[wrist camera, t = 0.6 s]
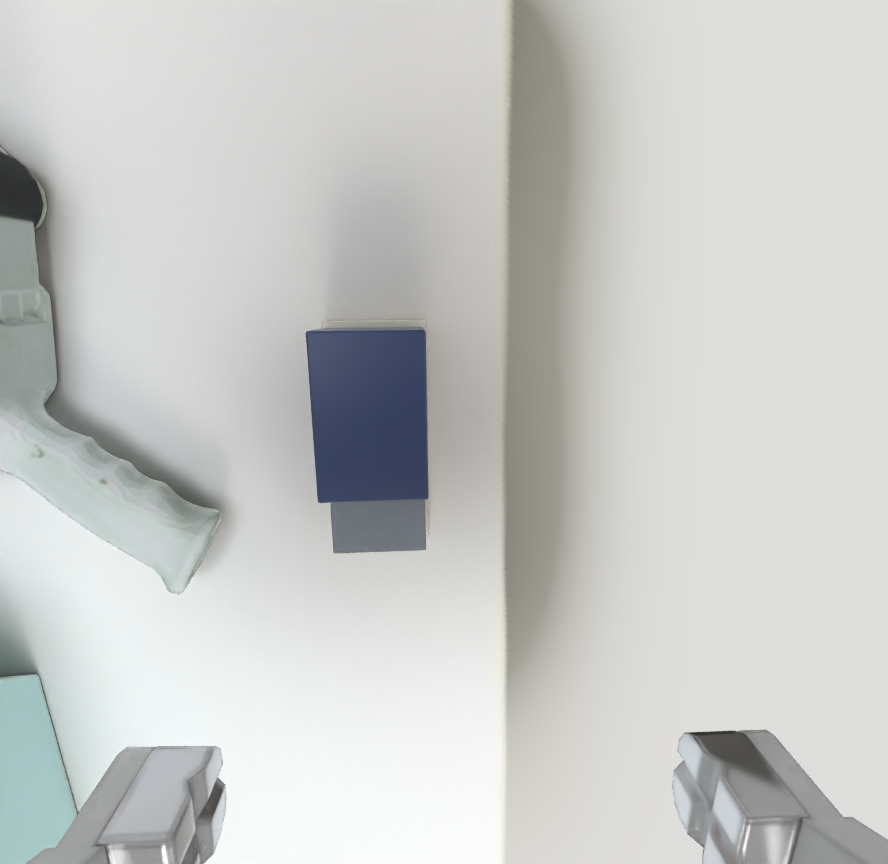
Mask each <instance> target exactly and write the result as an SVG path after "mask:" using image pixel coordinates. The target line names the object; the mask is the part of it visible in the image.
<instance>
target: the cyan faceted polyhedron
mask: <svg viewBox="0 0 888 864" xmlns="http://www.w3.org/2000/svg"><path fill="white" fill-rule="evenodd" d="M76 816H77V812H76V809H75V805H74V801H73V798H72V794H71V791H70V787H69V783H68V780H67V776H66V772H65V769H64V765H63V762H62V758H61V754H60V751H59V747H58V744H57V740H56V736H55V733H54V729H53V726H52V722H51V719H50V715H49V711H48V708H47V704H46V701H45V697H44V693H43V690H42V686H41V683H40V679H39V676H38V675H36V674H31V675H18V676H6V677H0V864H25V863H27V862H28V861H29V860H31V859H32V858H33V857H35V856H36V855H37V854H38V853H40V852H41V851H42V850H44V849H45V848H56V846H57V845H58V843H59V842H60V840H61V839H62V837H63V836H64V834H65V833H66V831H67V830H68V828H69V827H70V825H71V824H72V822H73V821H74V819H75V818H76Z"/></svg>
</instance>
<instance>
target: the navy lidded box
mask: <svg viewBox="0 0 888 864" xmlns="http://www.w3.org/2000/svg"><path fill="white" fill-rule="evenodd" d="M306 342H307V356H308V370H309V384H310V398H311V412H312V426H313V440H314V454H315V468H316V482H317V496H318V502H319V503H329V502H330V505H331V521H332V536H333V551H334V553H356V552H384V551H412V550H426V536H429V485H428V426H427V368H426V321H425V320H328V321H322V329H317V330H311V331H307V332H306Z"/></svg>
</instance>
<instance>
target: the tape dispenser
mask: <svg viewBox="0 0 888 864" xmlns="http://www.w3.org/2000/svg"><path fill="white" fill-rule="evenodd" d="M46 211H47V203H46V197H45V192H44V190H43V188H42V186H41V185H40V183H39V182H38V181H37V179H36V178H35V177H34V176H33V175H32V174H31V173H30V172H29V171H28V170H27V169H26V168H25V166H23V165H22V164H21V163H20V162H18V161H17V160H16V159H14V158H13V157H11V156H10V155H9V154H8V153H7V152H5V151H4V150H3V149H2V148H1V147H0V470H1V471H6V472H8V473H10V474H12V475H14V476H16V477H18V478H19V479H21V480H22V481H23V482H25V483H26V484H27V485H28V486H30V487H31V488H32V489H34V490H35V491H36V492H37V493H39V494H40V495H41V496H42V497H44V498H45V499H46V500H47V501H49V502H50V503H51V504H52V505H54V506H55V507H56V508H58V509H59V510H61V511H62V512H63V513H65V514H66V515H68V516H69V517H71V518H72V519H73V520H75V521H76V522H78V523H79V524H81V525H82V526H83V527H85V528H86V529H88V530H89V531H91V532H92V533H94V534H95V535H97V536H99V537H100V538H102V539H104V540H105V541H107V542H108V543H110V544H112V545H113V546H115V547H117V548H118V549H120V550H122V551H123V552H125V553H127V554H129V555H130V556H132V557H134V558H135V559H137V560H139V561H141V562H142V563H144V564H146V565H147V566H149V567H151V568H153V569H154V570H155V571H156V572H157V573H158V574H159V575H160V576H161V578H162V580H163V582H164V583H165V585H166V588H167V590H168V591H169V592H171V593H174V594H180V593H182V592H183V591H184V589H185V588H186V587H187V585H188V583H189V582H190V580H191V578H192V577H193V575H194V573H195V572H196V570H197V569H198V567H199V565H200V564H201V562H202V560H203V558H204V556H205V554H206V552H207V550H208V548H209V546H210V544H211V542H212V540H213V538H214V536H215V534H216V532H217V529H218V527H219V525H220V523H221V520H222V514H221V512H220V511H219V510H217V509H212V508H206V507H202V506H198V505H195V504H193V503H190V502H188V501H186V500H184V499H183V498H181V497H180V496H179V495H178V494H176V493H175V492H174V491H173V490H172V489H171V488H170V487H169V486H168V485H167V484H166V483H165V482H161V481H157V480H153V479H151V478H149V477H147V476H145V475H143V474H142V473H141V472H139V471H138V470H137V469H136V468H135V467H134V465H133V464H132V463H131V462H129V461H127V460H124V459H121V458H117V457H115V456H113V455H112V454H110V453H108V452H107V451H105V450H104V449H102V448H101V447H100V446H99V445H98V443H97V442H96V441H95V440H94V439H93V438H92V437H89V436H86V435H83V434H80V433H77V432H74V431H72V430H70V429H68V428H66V427H64V426H62V425H61V424H59V423H58V422H57V421H55V420H54V419H53V418H52V417H50V416H49V415H48V413H47V412H46V409H45V407H44V404H45V403H46V401H47V400H48V398H49V397H50V395H51V394H52V392H53V391H54V389H55V387H56V384H57V381H58V380H57V368H56V356H55V345H54V334H53V322H52V311H51V300H50V295H49V293H48V291H47V290H46V289H45V288H44V287H43V286H42V285H41V284H40V283H39V272H38V262H37V254H36V245H35V231H34V230H35V229H37V228H38V227H39V226H40V225H41V223H42V222H43V221H44V219H45V215H46Z"/></svg>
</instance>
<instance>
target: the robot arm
mask: <svg viewBox="0 0 888 864" xmlns="http://www.w3.org/2000/svg"><path fill="white" fill-rule="evenodd" d="M678 752H679V754H680V755H681V757H682V759H683V761H682V762H681V763H680V764H679V765H678V767H677V768H676V769H675V770H674V774H673V783H672V789H673V796H674V802H675V806H676V809H677V812H678V814H679V818H680V820H681V822H682V824H683V826H684V828H685V830H686V832H687V834H688V835H689V836H690V837H692V838H693V839H694V840H695V841H696V842H698V843H699V844H700V845H701V846H702V847H703V848H704V850H703V859H702V863H703V864H888V840H887V839H886V838H884V837H883V836H881V835H879V834H878V833H876V832H875V831H873V830H872V829H870V828H868V827H867V826H865V825H864V824H862V823H861V822H859V821H857V820H856V819H854V818H853V817H843V816H842V815H841V814H840V813H839V811H838V810H837V809H836V808H835V807H834V806H833V804H832V803H831V802H830V801H829V800H828V798H827V797H826V796H825V795H824V794H823V793H822V791H821V790H820V789H819V788H818V787H817V785H816V784H815V783H814V782H813V781H812V779H811V778H810V777H809V776H808V775H807V774H806V772H805V771H804V770H803V769H802V768H801V767H800V765H799V764H798V763H797V762H796V760H795V759H794V758H793V757H792V756H791V754H790V753H789V752H788V751H787V750H786V749H785V747H784V746H783V745H782V744H781V743H780V741H779V740H778V739H777V738H776V737H775V736H774V735H773V734H771V733H770V732H769V731H767V730H745V731H716V732H693V733H692V732H691V733H684V734H683V735H682V736H681V738H680V739H679V745H678ZM222 765H223V761H222V754H221V748H219V747H216V746H157V747H126V748H125V749H124V750H123V751H122V752H120V753H119V754H118V755H117V756H116V758H115V759H114V761H113V762H112V764H111V765H110V767H109V768H108V770H107V771H106V773H105V774H104V776H103V777H102V779H101V780H100V782H99V783H98V785H97V786H96V788H95V789H94V791H93V792H92V794H91V795H90V797H89V798H88V800H87V801H86V803H85V804H84V806H83V807H82V809H81V810H80V812H79V813H78V815H77V816H76V818H75V819H74V821H73V822H72V824H71V825H70V827H69V828H68V830H67V831H66V833H65V834H64V836H63V837H62V839H61V840H60V842H59V843H58V845H57V846H56V848H45V849H44V850H42V851H41V852H40V853H38V854H37V855H36V856H35V857H33V858H32V859H31V860H29V861H28V862H27V863H25V864H204V863H205V862H206V861H207V860H208V859H209V858H210V857H211V856H212V855H213V854H214V851H215V849H216V846H217V843H218V840H219V837H220V834H221V830H222V825H223V821H224V816H225V809H226V788H225V784H224V783H223V782H222V781H221V780H220V779H219V778H218V775H219V772H220V770H221V767H222Z"/></svg>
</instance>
